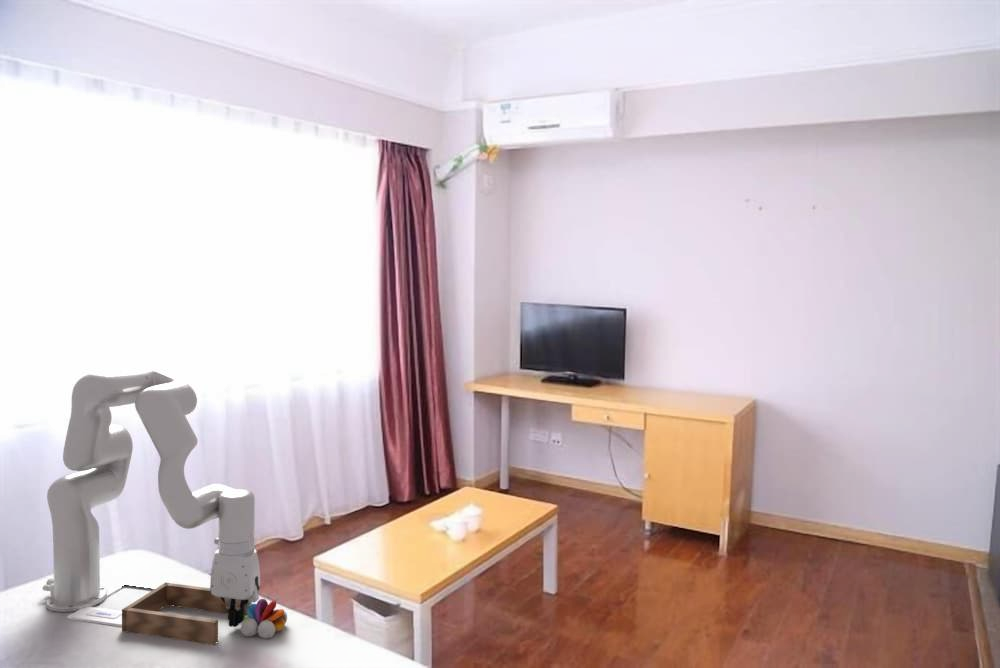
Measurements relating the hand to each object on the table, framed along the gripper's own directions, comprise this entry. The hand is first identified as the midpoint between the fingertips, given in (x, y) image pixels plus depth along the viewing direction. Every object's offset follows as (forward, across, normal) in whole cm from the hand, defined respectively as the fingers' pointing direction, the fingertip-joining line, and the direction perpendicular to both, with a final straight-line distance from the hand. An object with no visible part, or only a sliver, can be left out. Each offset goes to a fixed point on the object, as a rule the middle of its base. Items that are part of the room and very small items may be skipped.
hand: (235, 623), depth 154 cm
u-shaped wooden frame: (+1, -12, 0) cm, 12 cm away
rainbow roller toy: (+1, +7, +1) cm, 7 cm away
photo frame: (+2, -32, +4) cm, 33 cm away
